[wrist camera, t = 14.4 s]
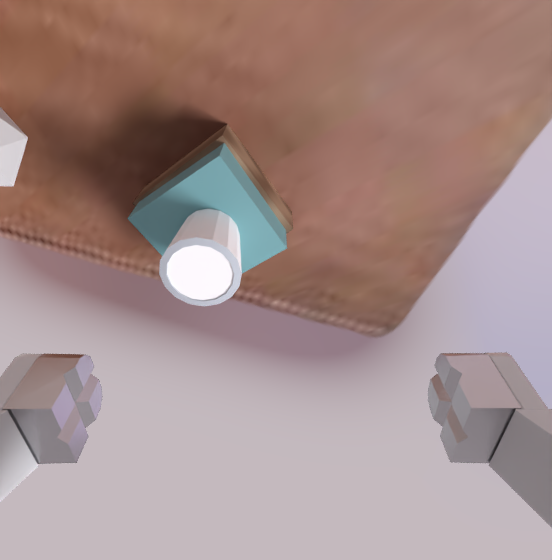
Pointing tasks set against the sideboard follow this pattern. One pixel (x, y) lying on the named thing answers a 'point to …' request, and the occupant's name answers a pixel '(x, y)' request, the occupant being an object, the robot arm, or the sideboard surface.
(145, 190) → the tower base block
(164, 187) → the tower top block
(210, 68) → the sideboard surface
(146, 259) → the sideboard surface
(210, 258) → the white rimmed cylinder
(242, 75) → the sideboard surface
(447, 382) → the robot arm
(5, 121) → the die
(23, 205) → the sideboard surface
